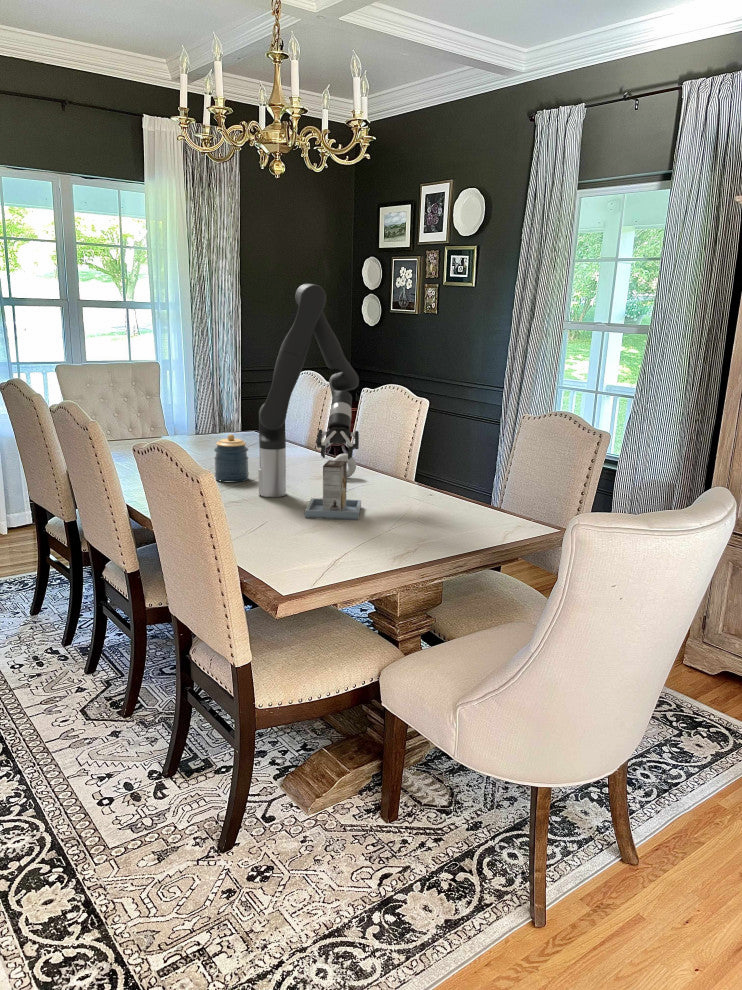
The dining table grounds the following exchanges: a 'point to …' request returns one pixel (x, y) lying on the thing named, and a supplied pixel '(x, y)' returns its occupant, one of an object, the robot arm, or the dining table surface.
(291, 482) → the dining table surface
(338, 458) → the donut
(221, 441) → the canister
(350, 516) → the tray
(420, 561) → the dining table surface
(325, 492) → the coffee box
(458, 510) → the dining table surface
